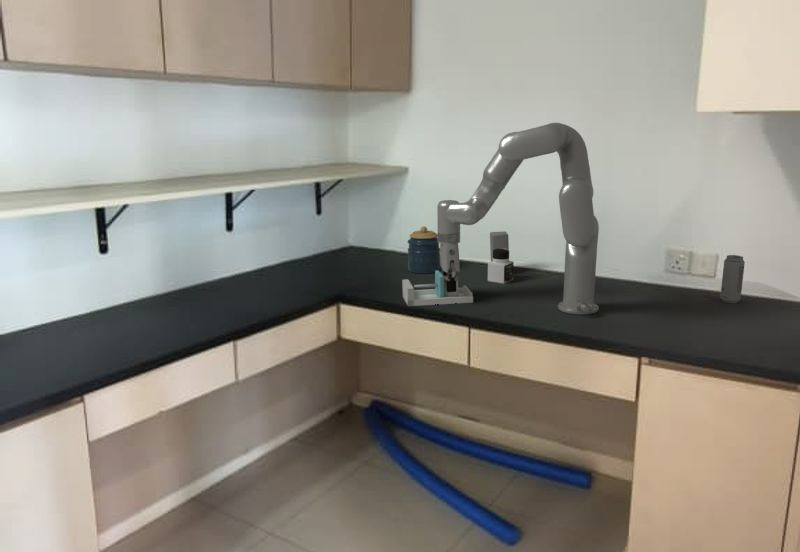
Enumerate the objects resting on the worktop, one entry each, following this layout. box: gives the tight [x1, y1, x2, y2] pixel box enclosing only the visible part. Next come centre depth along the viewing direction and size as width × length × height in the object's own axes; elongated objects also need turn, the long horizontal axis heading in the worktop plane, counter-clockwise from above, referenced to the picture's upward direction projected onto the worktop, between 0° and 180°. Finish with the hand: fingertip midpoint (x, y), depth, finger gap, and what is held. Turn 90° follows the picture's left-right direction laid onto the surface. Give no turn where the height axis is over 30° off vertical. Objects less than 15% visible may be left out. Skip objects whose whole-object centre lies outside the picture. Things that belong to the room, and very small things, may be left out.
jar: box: [444, 275, 459, 298], centre depth 233 cm, size 6×6×7 cm
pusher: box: [413, 270, 444, 298], centre depth 232 cm, size 9×9×8 cm
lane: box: [402, 278, 474, 307], centre depth 233 cm, size 12×22×6 cm, turn 98°
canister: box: [407, 225, 441, 274], centre depth 272 cm, size 13×13×18 cm
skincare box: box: [489, 230, 510, 262], centre depth 267 cm, size 8×7×16 cm
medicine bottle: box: [487, 248, 514, 284], centre depth 255 cm, size 7×7×12 cm
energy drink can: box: [719, 254, 745, 304], centre depth 224 cm, size 6×6×15 cm
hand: (448, 288), depth 233 cm, fingers open, 7 cm apart
